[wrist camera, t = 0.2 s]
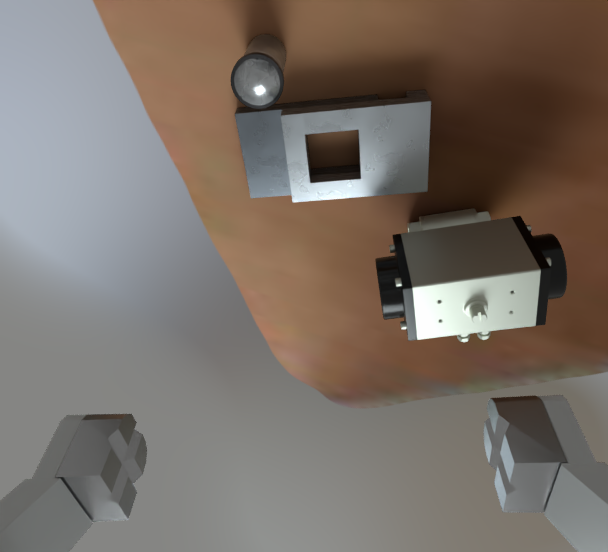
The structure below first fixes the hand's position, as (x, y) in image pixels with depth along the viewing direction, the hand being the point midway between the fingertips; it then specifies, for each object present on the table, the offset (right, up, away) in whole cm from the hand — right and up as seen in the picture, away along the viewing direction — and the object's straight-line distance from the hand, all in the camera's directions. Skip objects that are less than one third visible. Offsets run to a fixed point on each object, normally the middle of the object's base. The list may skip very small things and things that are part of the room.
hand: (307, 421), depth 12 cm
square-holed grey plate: (+3, +18, +45) cm, 49 cm away
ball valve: (+17, +10, +51) cm, 55 cm away
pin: (-4, +26, +40) cm, 48 cm away
